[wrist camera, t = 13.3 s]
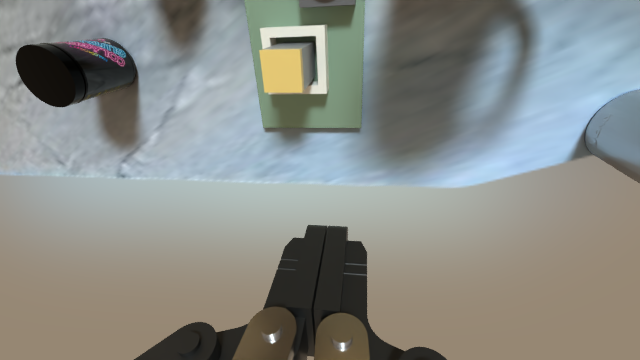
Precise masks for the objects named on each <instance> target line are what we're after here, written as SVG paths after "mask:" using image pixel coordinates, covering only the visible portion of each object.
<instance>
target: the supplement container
mask: <svg viewBox="0 0 640 360" xmlns="http://www.w3.org/2000/svg"><path fill="white" fill-rule="evenodd" d="M16 66H17V70H18V73H19V75H20V77H21V79H22V81H23V82H24V84H25V85H26V87H27V88H28V89H29V90H30V91H31V92H32V93H33V94H34V95H35V96H36V97H37V98H39V99H40V100H41V101H43V102H45V103H47V104H49V105H51V106H55V107H66V106H69V105H73V104H77V103H80V102H81V101H84V100H88V99H91V98H94V97H97V96H101V95H104V94H107V93H110V92H114V91H117V90H120V89H123V88H126V87H128V86H130V85H131V84H132V82H133V81H134V79H135V73H136V71H135V65H134V62H133V60H132V58H131V56H130V54H129V53H128V52H127V51H126V49H125V48H123V47H122V46H121V45H120V44H118V43H117V42H115V41H113V40H110V39H106V38H99V39H88V40H78V41H67V42H56V43H40V44H32V45H25V46H23V47H21V48H20V49H19V50H18V52H17V55H16Z"/></svg>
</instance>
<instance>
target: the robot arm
mask: <svg viewBox="0 0 640 360" xmlns="http://www.w3.org/2000/svg"><path fill="white" fill-rule="evenodd" d="M585 142H586V146H587V148H588V149H589V151H590V152H591V153H593V154H594V155H595V156H597V157H598V158H600V159H601V160H603V161H605V162H606V163H608V164H610V165H612V166H613V167H614V168H616V169H617V170H619V171H621V172H622V173H624V174H625V175H627V176H629V177H630V178H632V179H634V180H635V181H637V182H638V183H640V90H634V91H631V92H628V93H625V94H623V95H621V96H619V97H617V98H615V99H613V100H612V101H610V102H609V103H607V104H606V105H605V106H604V107H602V108H601V109H600V110H599V111H598V112H597V113H596V115H595V116H594V117H593V118H592V120H591V121H590V123H589V125H588V127H587V130H586V134H585ZM307 356H314V360H447V359H446V358H445V357H443V356H442V355H441V354H439V353H438V352H436V351H434V350H432V349H429V348H425V347H414V348H411V349H409V350H407V351H403V350H401V349H398V348H396V347H394V346H392V345H390V344H388V343H386V342H384V341H383V340H381V339H380V338H379V337H378V336H376V334H375V333H374V332H373V330H372V329H371V327H370V325H369V323H368V319H367V252H366V250H365V248H364V246H363V244H362V243H361V242H360V241H348V227H340V226H328V227H327V226H320V225H308V226H307V230H306V234H305V237H304V238H293V239H292V240H291V241H290V242H289V243H288V244H287V245H286V246H285V249H284V251H283V254H282V257H281V261H280V264H279V266H278V270H277V271H276V274H275V277H274V280H273V283H272V286H271V289H270V292H269V295H268V297H267V300H266V303H265V306H264V308H263V310H261V311H260V312H258V313H257V314H256V315H255V316H254V317H253V318H252V319H251V320H250V322H249V323H248V324H246V325H244V326H242V327H238V328H235V329H230V330H225V331H221V332H215V330H214V328H213V327H212V326H211V325H209V324H207V323H203V322H195V323H191V324H188V325H186V326H184V327H182V328H180V329H179V330H177V331H176V332H174V333H173V334H171V335H170V336H168V337H167V338H165V339H164V340H163V341H161V342H160V343H158V344H156V345H155V346H154V347H152V348H151V349H149V350H148V351H146V352H145V353H143V354H142V355H140V356H139V357H137V358H136V359H134V360H307Z"/></svg>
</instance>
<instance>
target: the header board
mask: <svg viewBox="0 0 640 360" xmlns="http://www.w3.org/2000/svg"><path fill="white" fill-rule="evenodd" d="M244 1H245V8H246V14H247V21H248V28H249V35H250V41H251V48H252V55H253V61H254V68H255V75H256V82H257V88H258V95H259V102H260V108H261V115H262V122H263V128H361V118H362V83H363V47H364V12H365V0H244ZM282 42H315V68H316V76H315V78H314V79H313V80H312V81H311V83H310V84H309V85H308V86H307V88H306V89H305V90H304V91H303V93H265V92H264V84H263V76H262V68H261V60H260V52H259V50H262V49H265V48H268V47H270V46H273V45H276V44H279V43H282Z"/></svg>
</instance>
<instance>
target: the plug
mask: <svg viewBox="0 0 640 360" xmlns="http://www.w3.org/2000/svg"><path fill="white" fill-rule="evenodd" d="M259 52H260V60H261V68H262V76H263V84H264V92H265V93H303V91H304V90H305V89H306V88H307V86H308V85H309V84H310V83H311V81H312V80H313V79H314V78H315V76H316V68H315V42H282V43H279V44H276V45H273V46H270V47H268V48H265V49H262V50H259Z"/></svg>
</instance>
